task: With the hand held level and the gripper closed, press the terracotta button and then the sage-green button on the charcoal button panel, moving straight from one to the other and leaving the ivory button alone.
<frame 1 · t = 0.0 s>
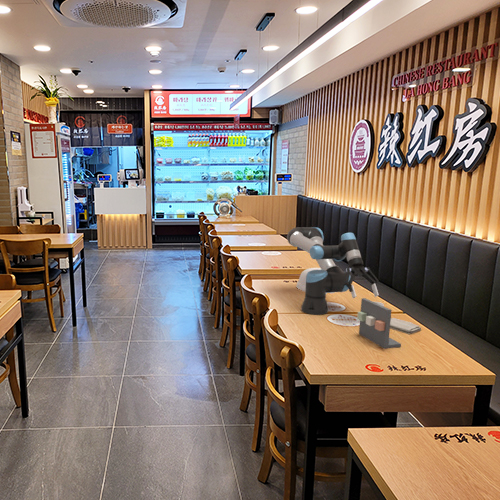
hand: (365, 296, 227), 15 cm above the table, tool tilted 35°, fingers open, 13 cm apart
white cup: (374, 321, 237), on the table
washcloth: (400, 328, 228), on the table
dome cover: (317, 288, 307), on the table
button panel: (372, 340, 207), on the table
sage button: (362, 316, 211), point 10 cm above the table, slide at 0.0 cm
terracotta button: (380, 325, 198), point 10 cm above the table, slide at 0.0 cm
ivory button: (371, 320, 205), point 10 cm above the table, slide at 0.0 cm
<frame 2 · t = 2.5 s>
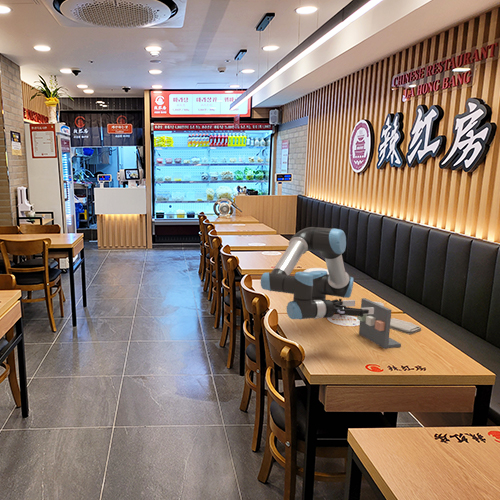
hand: (363, 306, 194), 19 cm above the table, tool horizontal, fingers open, 13 cm apart
nothing on the table moved.
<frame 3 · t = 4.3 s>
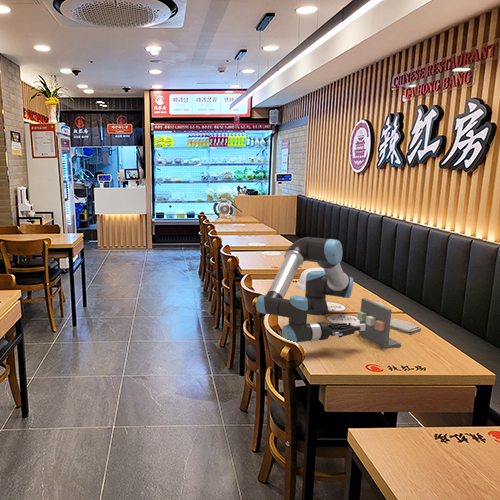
hand: (364, 326, 195), 10 cm above the table, tool horizontal, fingers closed
nothing on the table moved.
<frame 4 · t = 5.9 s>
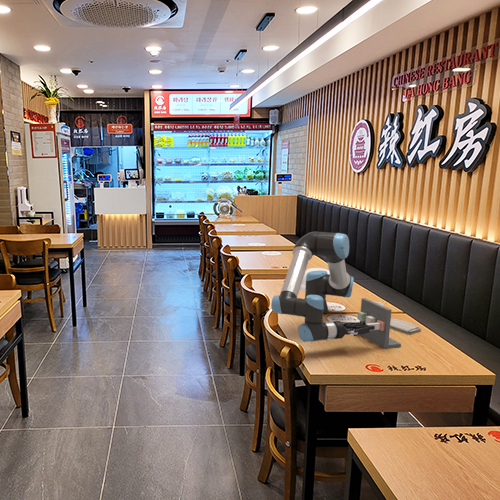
hand: (378, 326, 198), 10 cm above the table, tool horizontal, fingers closed
terracotta button: (382, 325, 199), point 10 cm above the table, slide at 0.9 cm, touching gripper
everything else where it was.
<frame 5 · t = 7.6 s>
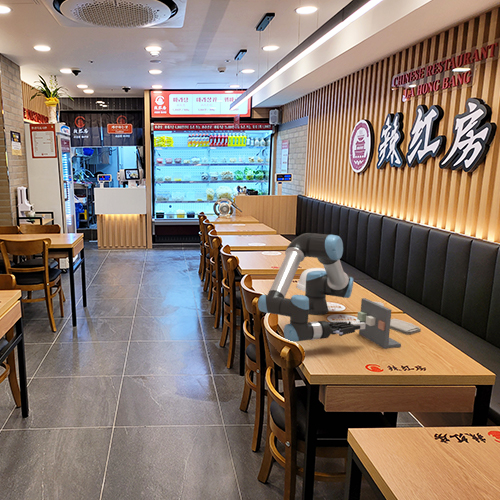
hand: (364, 325, 199), 10 cm above the table, tool horizontal, fingers closed
terracotta button: (384, 325, 199), point 10 cm above the table, slide at 1.8 cm
everything else where it was.
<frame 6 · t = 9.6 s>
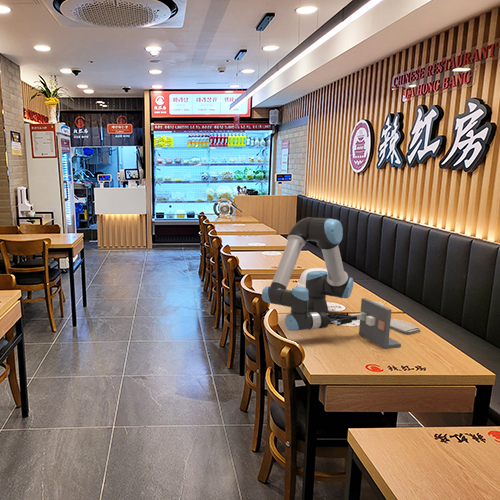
hand: (361, 316, 211), 10 cm above the table, tool horizontal, fingers closed
sage button: (364, 316, 212), point 10 cm above the table, slide at 1.1 cm, touching gripper
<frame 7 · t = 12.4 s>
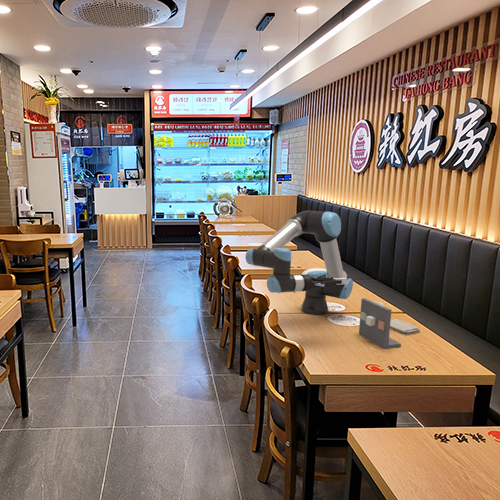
hand: (346, 281, 205), 28 cm above the table, tool horizontal, fingers closed
sage button: (365, 316, 212), point 10 cm above the table, slide at 1.8 cm
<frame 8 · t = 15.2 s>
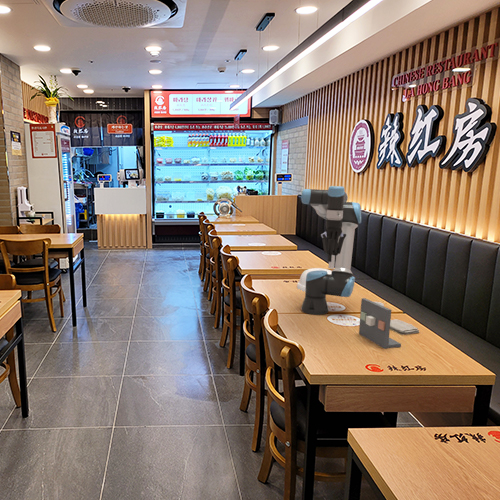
hand: (331, 268, 210), 32 cm above the table, tool pointing down, fingers closed
at the end: terracotta button slide at 1.8 cm; sage button slide at 1.8 cm; ivory button slide at 0.0 cm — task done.
